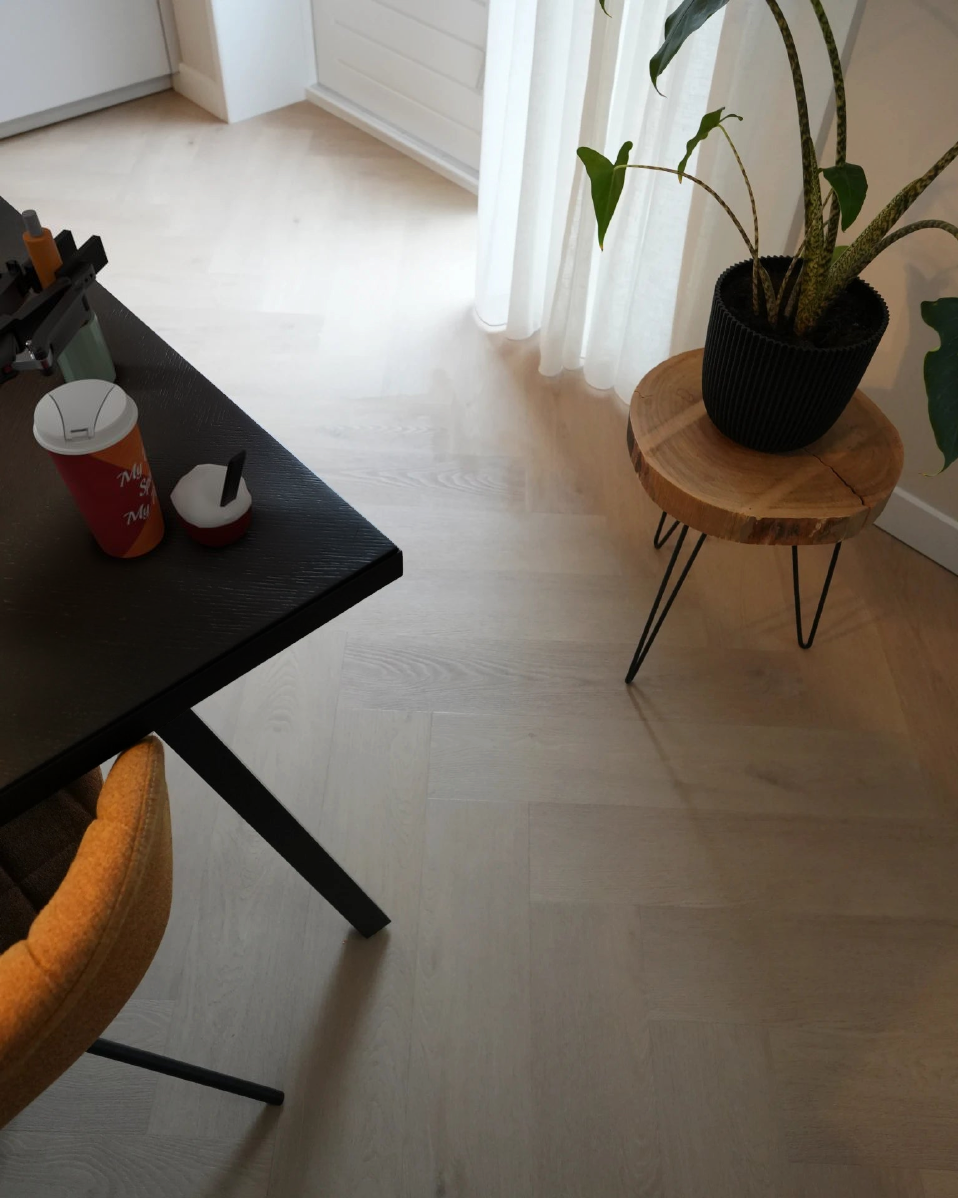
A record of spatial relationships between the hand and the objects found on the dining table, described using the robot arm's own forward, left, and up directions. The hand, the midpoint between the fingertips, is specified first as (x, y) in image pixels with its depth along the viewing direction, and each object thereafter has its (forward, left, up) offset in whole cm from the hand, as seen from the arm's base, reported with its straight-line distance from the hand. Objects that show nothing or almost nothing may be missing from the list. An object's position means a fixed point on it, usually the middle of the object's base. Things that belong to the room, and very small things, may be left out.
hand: (86, 245), depth 91 cm
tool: (0, -5, -8) cm, 9 cm away
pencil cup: (0, -5, -11) cm, 13 cm away
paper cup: (+13, -24, -12) cm, 30 cm away
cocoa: (+20, -23, -12) cm, 33 cm away
